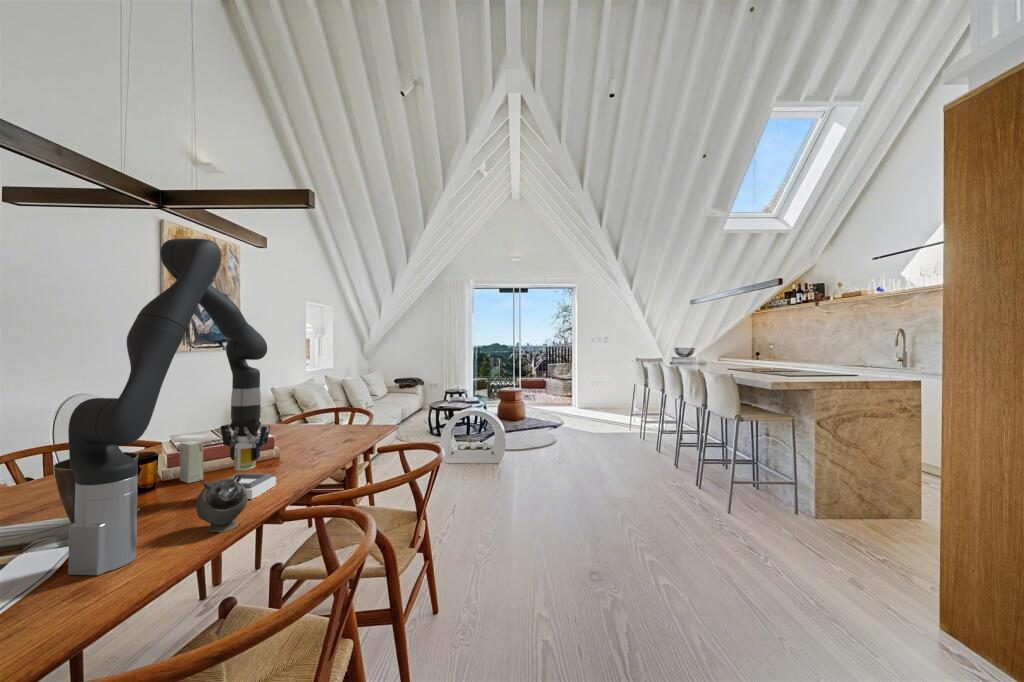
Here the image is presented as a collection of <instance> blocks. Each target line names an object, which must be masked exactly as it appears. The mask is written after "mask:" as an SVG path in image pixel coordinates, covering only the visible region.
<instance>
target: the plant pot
mask: <svg viewBox="0 0 1024 682" xmlns="http://www.w3.org/2000/svg"><path fill="white" fill-rule="evenodd" d="M122 452H123V453H124V454H126V455H127V456H129V457H131V458H133V459H135V460H136V461H137V463H139V454H138V453H135V452H130V451H129V452H127V451H126V452H124V451H122ZM53 472H54V477H55V482H56V486H57V490H58V494H59V498H60V500H61V504H62V506H63V508H64V511H65V513H66V515H67V517H68V520H69V522H70V523H71V524H73V523H75V483H76V482H75V474H74V472H73V471H72V469H71V466H70V458H69V459H65V460H62V461H59V462H57V463H55V464H54V465H53Z"/></svg>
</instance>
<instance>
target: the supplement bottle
mask: <svg viewBox="0 0 1024 682" xmlns="http://www.w3.org/2000/svg"><path fill="white" fill-rule="evenodd" d="M237 440H238V443H237V444H235V456H234V460H233V461H234V464H233V466H234V470H236V471H247V470H251V469H255V468H256V464H257V463H256V461H257V460H256V461H252V448H253V447H252V445H251V442H249V440H248V438H247V436H238V439H237Z"/></svg>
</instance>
